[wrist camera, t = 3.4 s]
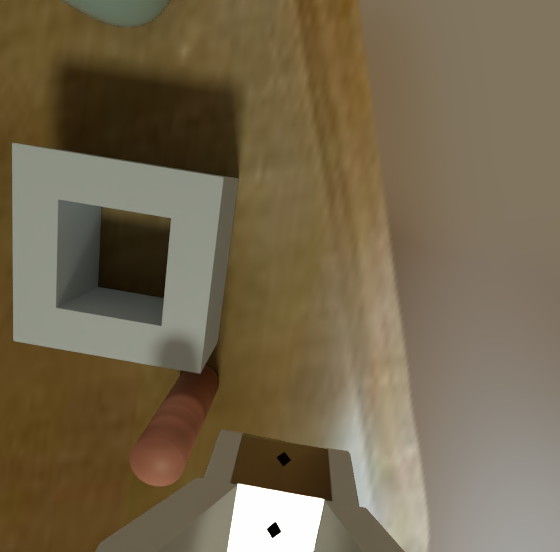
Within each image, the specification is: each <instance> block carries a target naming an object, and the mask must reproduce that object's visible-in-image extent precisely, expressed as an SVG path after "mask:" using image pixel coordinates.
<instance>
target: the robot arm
mask: <svg viewBox="0 0 560 552" xmlns="http://www.w3.org/2000/svg"><path fill="white" fill-rule="evenodd" d="M95 552H404V550H403V549H402V548H401V547H400V546H399V545H398V544H397V543H396V541H395V540H394V539H393V538H392V537H391V536H390V535H389V533H388V532H387V531H386V530H385V529H384V528H383V527H382V526H381V524H380V523H379V522H378V521H377V520H376V519H375V518H374V516H373V515H372V514H371V513H370V512H369V511H368V510H367V509H366V508H363V507H359V502H358V496H357V490H356V485H355V479H354V473H353V467H352V462H351V456H350V453H349V452H348V451H343V450H336V449H329V448H327V449H325V448H319V447H313V446H307V445H301V444H295V443H289V442H285V441H281V440H276V439H271V438H266V437H261V436H256V435H251V434H246V433H241V432H235V431H230V430H224V429H222V430H221V431H220V433H219V436H218V439H217V442H216V445H215V448H214V451H213V453H212V456H211V459H210V462H209V465H208V468H207V471H206V474H205V477H204V478H196V479H194V480H193V481H191V482H190V483H188V484H187V485H185V486H184V487H182V488H181V489H179V490H178V491H176V492H175V493H174V494H172V495H171V496H169V497H168V498H166V499H165V500H163V501H162V502H160V503H159V504H157V505H156V506H154V507H153V508H151V509H150V510H148V511H147V512H145V513H144V514H142V515H141V516H139V517H138V518H136V519H135V520H133V521H132V522H130V523H129V524H127V525H126V526H124V527H123V528H121V529H120V530H119V531H117V532H116V533H114V534H113V535H111V536H110V537H108V538H107V539H105V540H104V541H102V542H101V543H100V544H99V546H98V548H97V549H96V551H95Z"/></svg>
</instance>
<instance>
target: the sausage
mask: <svg viewBox="0 0 560 552" xmlns="http://www.w3.org/2000/svg"><path fill="white" fill-rule="evenodd" d="M218 386H219V379H218V376H217V374H216V373H215V371H214V370H213V369H212V368H210V367H209V366H207V365H205V366H204V368H203V370H202V371H201V373H200V374H199V373H193V372H188V371H183V372H182V374H181V375H180V377H179V378H178V380H177V381H176V383H175V384H174V386H173V388H172V389H171V391H170V392H169V394H168V395H167V397H166V398H165V400H164V401H163V403H162V404H161V406H160V408H159V409H158V411H157V412H156V414H155V415H154V417H153V418H152V420H151V421H150V423H149V425H148V426H147V428H146V429H145V431H144V432H143V434H142V435H141V437H140V438H139V440H138V442H137V443H136V445H135V446H134V448H133V449H132V451H131V454H130V466H131V468H132V471H133V472H134V474H135V475H136V476H137V477H138V478H139V479H140V480H142V481H143V482H145V483H147V484H150V485H153V486H167V485H170V484H172V483H174V482H175V481H177V480H178V479H179V477H180V476H181V474H182V472H183V470H184V467H185V465H186V463H187V460H188V458H189V456H190V453H191V451H192V449H193V446H194V444H195V441H196V439H197V437H198V434H199V432H200V430H201V427H202V425H203V423H204V420H205V418H206V415H207V413H208V411H209V408H210V406H211V404H212V401H213V399H214V397H215V394H216V392H217V389H218Z"/></svg>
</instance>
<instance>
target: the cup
mask: <svg viewBox="0 0 560 552" xmlns="http://www.w3.org/2000/svg"><path fill="white" fill-rule="evenodd" d="M61 1H63V2H64V3H66V4H67V5H69V6H71V7H72V8H74V9H76V10H78V11H79V12H81V13H83V14H85V15H87V16H89V17H92V18H94V19H96V20H98V21H100V22H103V23H106V24H110V25H113V26H117V27H130V28H134V27H139V26H144V25H146V24H148V23H150V22H152V21H153V20H154V19H156V18H157V17H158V16H159V15H160V14H161V13H162V12H163V11H164V9H165V8H166V7H167V6H168V4H169V2H170V0H61Z"/></svg>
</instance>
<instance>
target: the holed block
mask: <svg viewBox="0 0 560 552" xmlns="http://www.w3.org/2000/svg"><path fill="white" fill-rule="evenodd" d="M238 180H239V178H233V177H227V176H221V175H215V174H209V173H203V172H196V171H190V170H184V169H178V168H172V167H166V166H160V165H153V164H147V163H141V162H135V161H129V160H123V159H117V158H110V157H104V156H98V155H92V154H86V153H80V152H74V151H67V150H60V149H53V148H46V147H39V146H32V145H24V144H17V143H12V201H13V341H17V342H23V343H28V344H34V345H40V346H45V347H51V348H57V349H62V350H68V351H74V352H80V353H85V354H91V355H97V356H102V357H108V358H114V359H119V360H125V361H131V362H136V363H142V364H148V365H154V366H159V367H165V368H171V369H176V370H182V371H188V372H193V373H199V374H200V373H201V371H202V370H203V368H204V366H205V364H206V362H207V361H208V359H209V357H210V355H211V353H212V352H213V350H214V348H215V346H216V344H217V342H218V336H219V328H220V321H221V313H222V305H223V297H224V289H225V282H226V274H227V266H228V258H229V250H230V243H231V235H232V227H233V219H234V212H235V204H236V196H237V188H238ZM102 207H107V208H113V209H119V210H125V211H131V212H137V213H143V214H149V215H155V216H161V217H167V218H171V226H170V237H169V248H168V259H167V270H166V281H165V293H164V298H160V297H155V296H149V295H143V294H137V293H131V292H125V291H120V290H114V289H108V288H102V287H98V276H99V255H100V234H101V213H102Z"/></svg>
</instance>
